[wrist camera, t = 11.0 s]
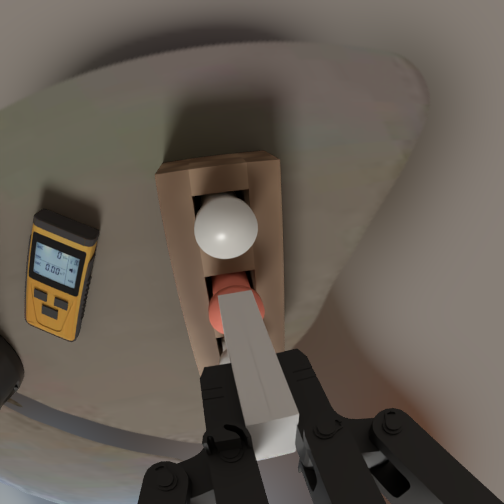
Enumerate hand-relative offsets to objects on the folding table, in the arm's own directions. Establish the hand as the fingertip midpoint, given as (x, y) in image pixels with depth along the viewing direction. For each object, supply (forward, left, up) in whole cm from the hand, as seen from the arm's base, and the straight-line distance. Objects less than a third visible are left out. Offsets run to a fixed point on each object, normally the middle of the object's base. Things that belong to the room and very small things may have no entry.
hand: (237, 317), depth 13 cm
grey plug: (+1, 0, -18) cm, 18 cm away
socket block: (+1, -7, -19) cm, 20 cm away
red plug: (+1, -7, -17) cm, 19 cm away
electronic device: (-20, -6, -19) cm, 28 cm away
